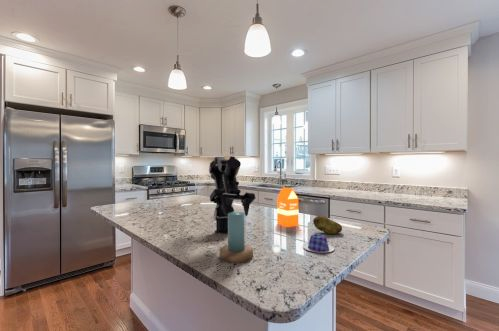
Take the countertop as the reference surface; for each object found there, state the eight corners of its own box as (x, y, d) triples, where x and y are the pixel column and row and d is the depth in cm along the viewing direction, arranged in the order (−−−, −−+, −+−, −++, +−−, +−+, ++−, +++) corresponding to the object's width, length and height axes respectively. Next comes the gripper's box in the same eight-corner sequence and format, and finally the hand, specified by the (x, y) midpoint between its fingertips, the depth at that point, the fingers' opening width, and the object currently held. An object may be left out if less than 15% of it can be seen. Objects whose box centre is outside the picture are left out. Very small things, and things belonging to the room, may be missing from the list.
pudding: (339, 248, 100) (339, 235, 100) (326, 257, 91) (326, 242, 91) (311, 242, 108) (311, 229, 108) (297, 249, 99) (297, 236, 98)
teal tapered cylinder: (224, 249, 91) (224, 213, 91) (237, 245, 95) (237, 211, 95) (234, 253, 87) (234, 216, 86) (248, 249, 91) (247, 213, 90)
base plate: (213, 260, 87) (213, 253, 87) (228, 248, 99) (228, 242, 98) (246, 265, 83) (246, 257, 83) (257, 252, 94) (257, 246, 94)
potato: (340, 237, 114) (340, 219, 113) (311, 233, 120) (311, 216, 119) (342, 232, 121) (342, 216, 121) (315, 229, 127) (315, 213, 127)
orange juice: (287, 221, 143) (287, 186, 142) (298, 225, 135) (298, 188, 135) (277, 223, 139) (277, 187, 138) (287, 227, 131) (287, 189, 131)
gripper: (241, 194, 119) (247, 225, 109) (203, 191, 110) (207, 223, 100) (252, 181, 112) (260, 212, 102) (213, 176, 103) (217, 209, 93)
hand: (236, 215), depth 100 cm, fingers open, 9 cm apart
